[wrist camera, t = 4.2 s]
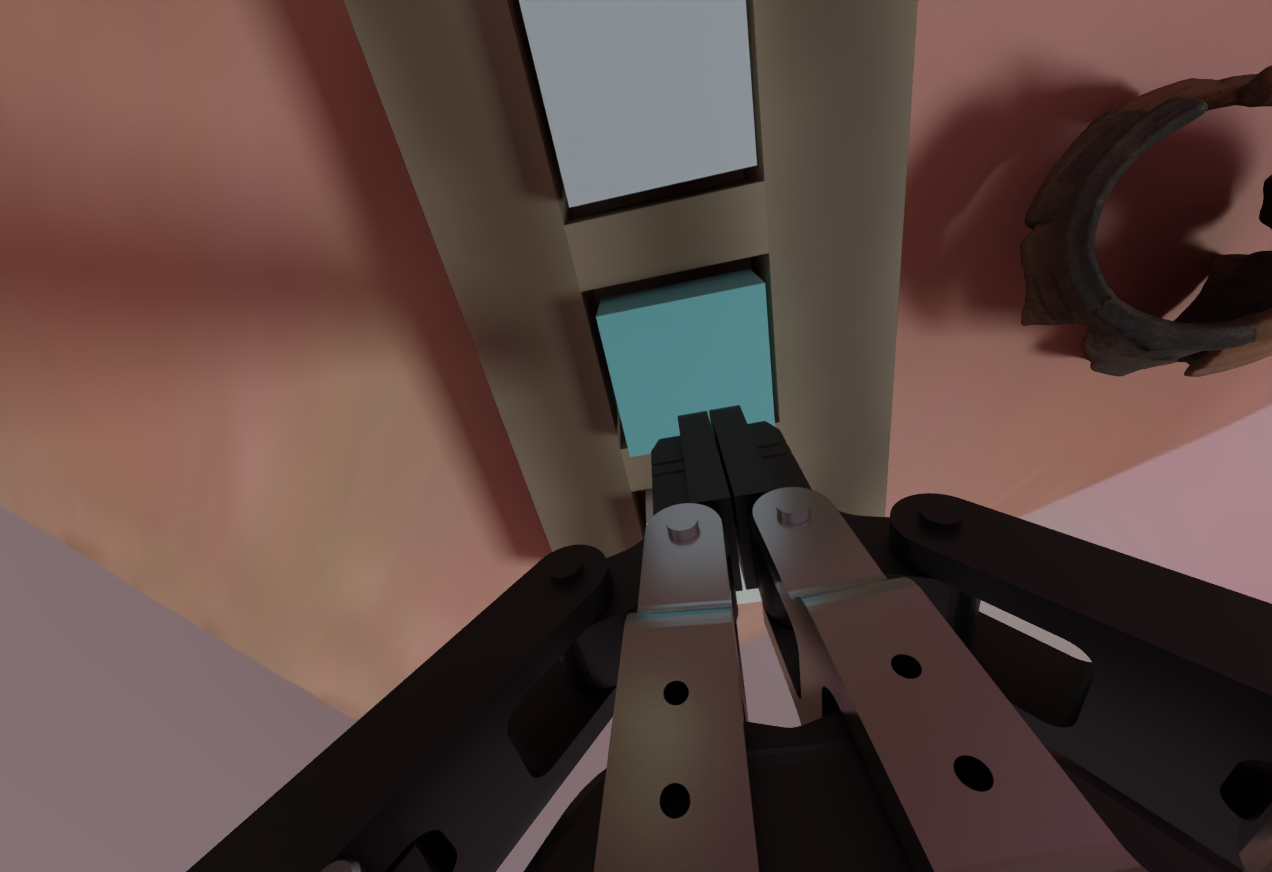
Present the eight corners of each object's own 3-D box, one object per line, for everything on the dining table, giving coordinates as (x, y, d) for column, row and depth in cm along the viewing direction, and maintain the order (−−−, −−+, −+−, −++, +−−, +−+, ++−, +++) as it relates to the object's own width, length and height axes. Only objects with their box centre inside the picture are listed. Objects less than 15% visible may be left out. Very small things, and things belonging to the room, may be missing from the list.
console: (586, 562, 26) (578, 622, 23) (396, 1, 15) (324, -50, 12) (846, 523, 25) (880, 581, 22) (856, -128, 14) (932, -230, 10)
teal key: (631, 427, 19) (629, 457, 17) (601, 299, 16) (595, 316, 14) (760, 404, 18) (775, 432, 16) (749, 268, 16) (765, 282, 14)
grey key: (578, 202, 15) (569, 207, 13) (529, -9, 12) (509, -41, 10) (740, 165, 14) (757, 165, 12) (722, -62, 12) (738, -106, 10)
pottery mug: (1009, 401, 22) (1081, 426, 15) (947, 206, 22) (990, 133, 15) (1419, 297, 17) (1851, 257, 10) (1344, 37, 17) (1726, -211, 9)
